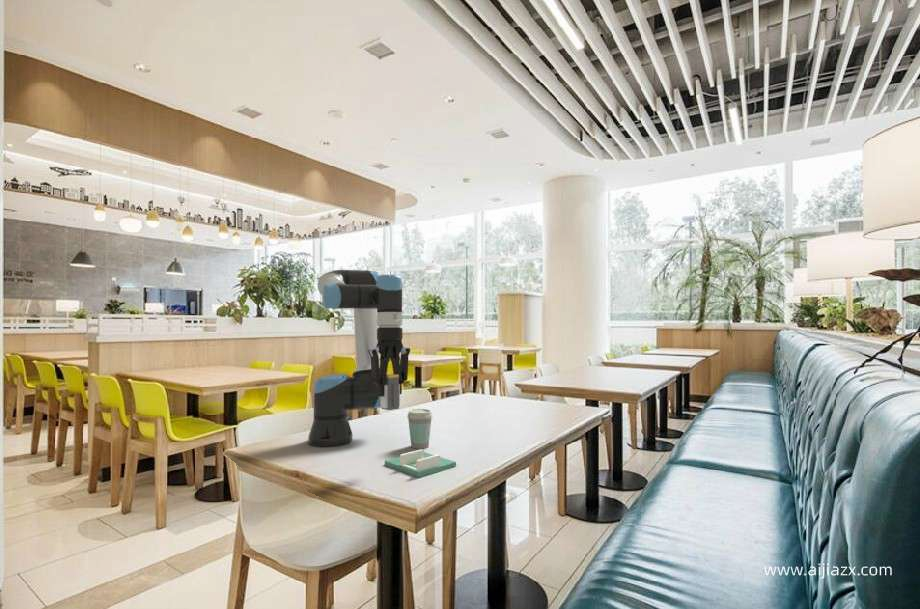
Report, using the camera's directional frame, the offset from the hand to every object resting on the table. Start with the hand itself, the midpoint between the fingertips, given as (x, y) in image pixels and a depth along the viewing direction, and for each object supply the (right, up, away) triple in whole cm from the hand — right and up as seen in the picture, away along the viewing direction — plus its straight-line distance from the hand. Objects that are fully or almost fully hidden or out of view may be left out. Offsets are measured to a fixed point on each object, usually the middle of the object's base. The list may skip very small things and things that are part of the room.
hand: (390, 406), depth 137 cm
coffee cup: (+7, -18, +21) cm, 29 cm away
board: (+9, -17, +1) cm, 20 cm away
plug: (0, -1, 0) cm, 1 cm away
